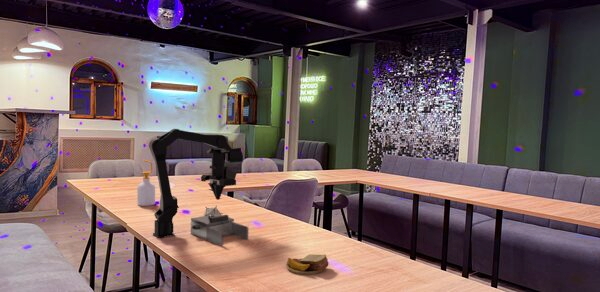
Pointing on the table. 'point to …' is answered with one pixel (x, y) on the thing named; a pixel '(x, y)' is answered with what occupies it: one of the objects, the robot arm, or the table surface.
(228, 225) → the grey rectangular box
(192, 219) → the lid
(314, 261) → the toy sandwich meal
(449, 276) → the table surface
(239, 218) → the table surface
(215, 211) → the game die
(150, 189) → the soap bottle
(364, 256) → the table surface
